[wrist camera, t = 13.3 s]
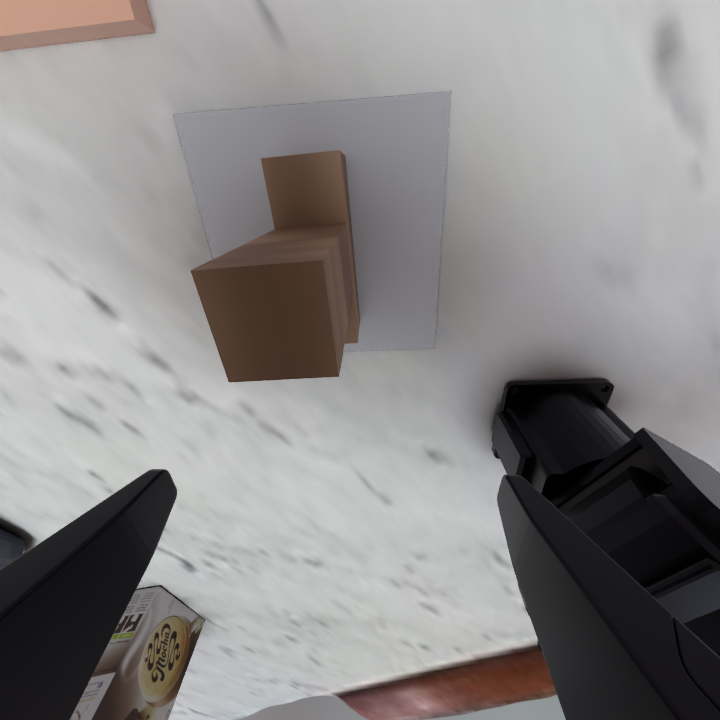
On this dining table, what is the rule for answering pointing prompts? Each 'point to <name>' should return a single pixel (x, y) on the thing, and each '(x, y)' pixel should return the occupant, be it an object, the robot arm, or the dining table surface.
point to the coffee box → (142, 660)
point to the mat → (366, 194)
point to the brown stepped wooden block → (288, 278)
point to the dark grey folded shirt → (10, 548)
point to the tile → (69, 21)
